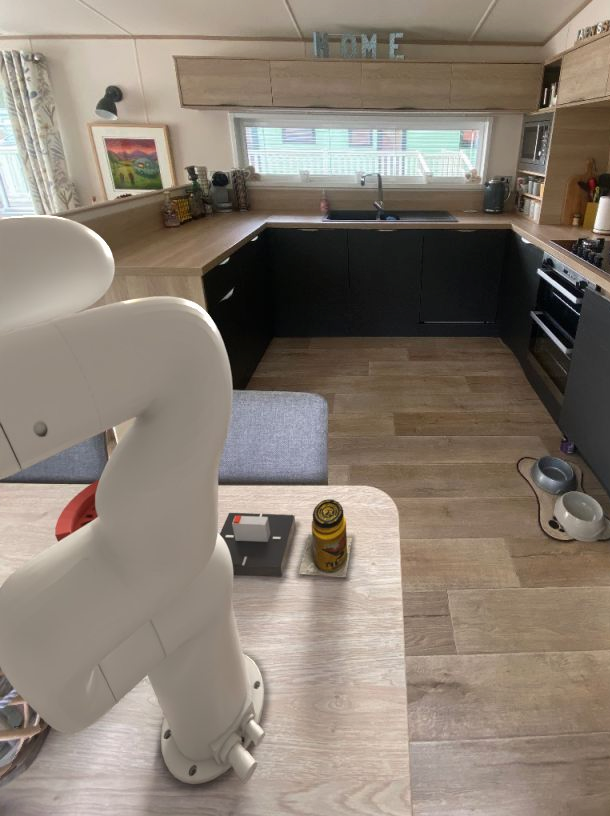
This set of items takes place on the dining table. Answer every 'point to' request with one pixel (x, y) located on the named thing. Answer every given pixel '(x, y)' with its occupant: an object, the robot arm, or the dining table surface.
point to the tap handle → (251, 528)
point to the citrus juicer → (77, 512)
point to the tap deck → (260, 546)
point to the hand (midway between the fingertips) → (57, 419)
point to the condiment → (327, 542)
